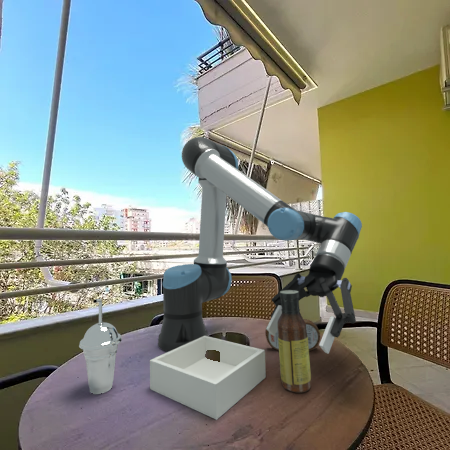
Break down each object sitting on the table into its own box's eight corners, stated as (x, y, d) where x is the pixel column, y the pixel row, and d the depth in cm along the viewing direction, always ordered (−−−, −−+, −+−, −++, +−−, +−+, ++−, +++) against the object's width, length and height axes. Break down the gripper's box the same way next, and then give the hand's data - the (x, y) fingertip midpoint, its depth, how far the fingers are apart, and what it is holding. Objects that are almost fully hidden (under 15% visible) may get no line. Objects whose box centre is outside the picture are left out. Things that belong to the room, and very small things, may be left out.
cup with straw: (130, 380, 63) (129, 291, 64) (103, 403, 54) (103, 299, 55) (97, 377, 65) (97, 290, 66) (67, 398, 56) (67, 298, 57)
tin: (319, 348, 79) (318, 318, 79) (322, 352, 76) (320, 321, 76) (265, 347, 80) (264, 317, 81) (266, 351, 77) (265, 321, 78)
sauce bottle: (313, 382, 60) (309, 289, 61) (309, 397, 55) (304, 295, 56) (283, 376, 63) (280, 288, 64) (276, 390, 57) (272, 293, 58)
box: (150, 389, 59) (149, 360, 60) (205, 358, 74) (204, 335, 74) (216, 419, 49) (215, 384, 49) (265, 377, 63) (264, 350, 63)
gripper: (389, 277, 61) (360, 369, 51) (295, 269, 80) (260, 335, 70) (377, 254, 58) (344, 347, 47) (282, 252, 77) (244, 318, 67)
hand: (294, 340), depth 59 cm, fingers open, 13 cm apart
